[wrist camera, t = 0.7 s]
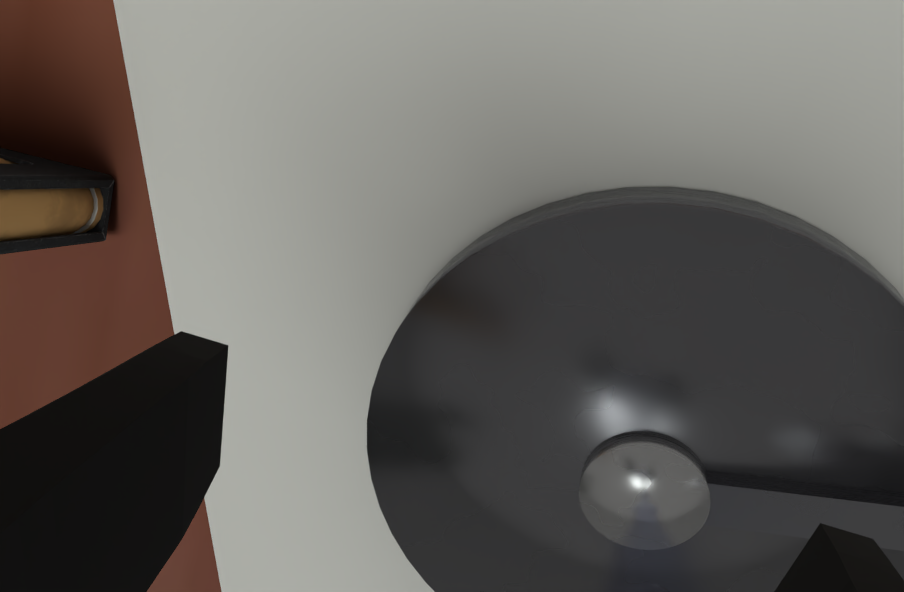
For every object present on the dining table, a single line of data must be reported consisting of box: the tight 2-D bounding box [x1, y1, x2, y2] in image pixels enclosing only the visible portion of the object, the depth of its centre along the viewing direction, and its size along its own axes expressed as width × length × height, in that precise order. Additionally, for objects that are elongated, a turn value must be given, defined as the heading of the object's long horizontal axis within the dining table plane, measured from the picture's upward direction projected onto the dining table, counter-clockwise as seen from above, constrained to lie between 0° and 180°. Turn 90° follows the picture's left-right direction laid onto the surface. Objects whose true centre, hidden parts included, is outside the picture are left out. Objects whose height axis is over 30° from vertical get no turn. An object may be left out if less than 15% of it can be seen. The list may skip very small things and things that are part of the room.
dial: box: [367, 187, 904, 592], centre depth 18 cm, size 18×14×5 cm
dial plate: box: [113, 0, 904, 592], centre depth 21 cm, size 26×28×1 cm
